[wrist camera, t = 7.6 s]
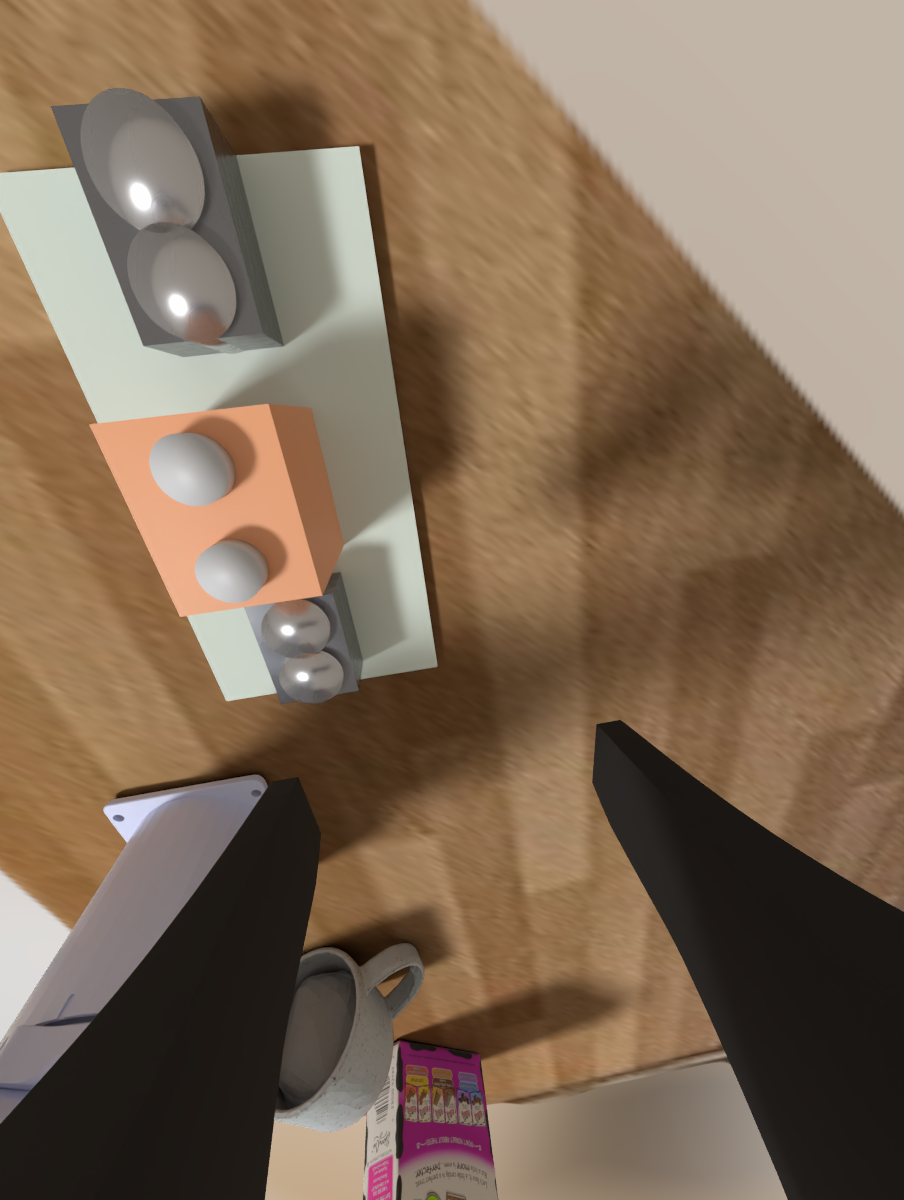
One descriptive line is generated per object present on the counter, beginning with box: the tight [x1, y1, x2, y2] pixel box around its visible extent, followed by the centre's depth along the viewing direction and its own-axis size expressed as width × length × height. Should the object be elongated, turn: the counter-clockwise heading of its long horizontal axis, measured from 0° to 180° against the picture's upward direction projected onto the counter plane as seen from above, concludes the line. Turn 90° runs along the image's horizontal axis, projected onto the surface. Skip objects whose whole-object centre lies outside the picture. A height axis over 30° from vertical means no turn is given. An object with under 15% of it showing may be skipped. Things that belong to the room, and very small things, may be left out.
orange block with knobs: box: [89, 404, 344, 617], centre depth 12 cm, size 5×4×6 cm
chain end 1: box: [51, 88, 284, 357], centre depth 11 cm, size 5×3×2 cm
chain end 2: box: [244, 572, 363, 704], centre depth 16 cm, size 5×3×2 cm
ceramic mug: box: [274, 943, 424, 1132], centre depth 27 cm, size 11×8×8 cm
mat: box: [0, 146, 438, 701], centre depth 15 cm, size 18×10×1 cm, turn 6°
